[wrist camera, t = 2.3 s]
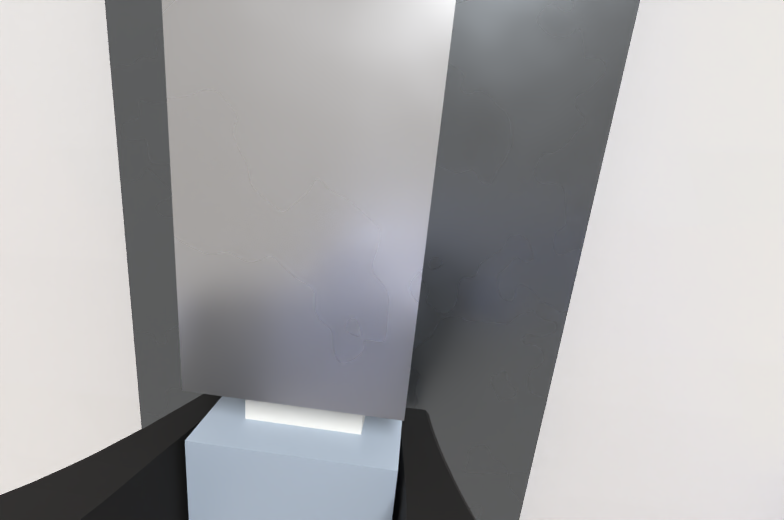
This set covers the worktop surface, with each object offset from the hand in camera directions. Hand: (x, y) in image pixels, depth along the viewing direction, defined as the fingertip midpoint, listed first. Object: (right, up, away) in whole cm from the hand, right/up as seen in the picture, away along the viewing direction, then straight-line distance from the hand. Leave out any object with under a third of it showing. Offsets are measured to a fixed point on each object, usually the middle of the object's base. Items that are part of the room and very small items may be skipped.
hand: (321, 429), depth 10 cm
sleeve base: (0, 0, +3) cm, 3 cm away
